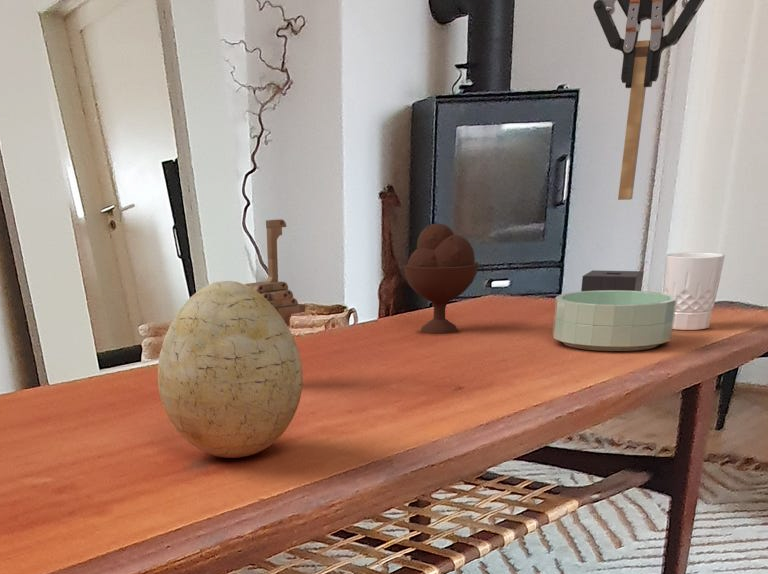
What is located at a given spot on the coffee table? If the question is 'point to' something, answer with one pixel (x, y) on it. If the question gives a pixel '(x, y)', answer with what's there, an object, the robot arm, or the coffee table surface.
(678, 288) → the white cup
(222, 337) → the fossilized egg
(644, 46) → the stirring stick
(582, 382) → the coffee table surface
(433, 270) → the ice cream bowl
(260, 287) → the wooden hook post
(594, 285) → the utensil holder
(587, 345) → the mixing bowl
